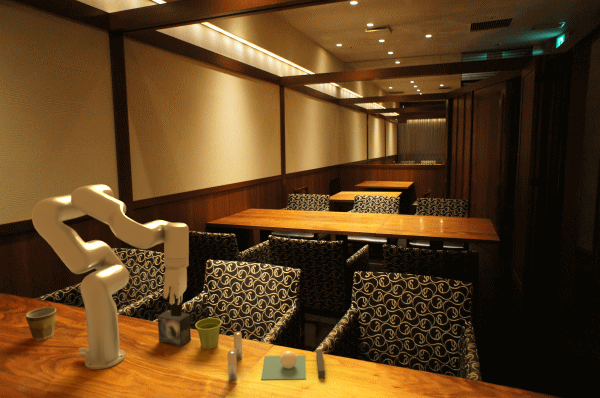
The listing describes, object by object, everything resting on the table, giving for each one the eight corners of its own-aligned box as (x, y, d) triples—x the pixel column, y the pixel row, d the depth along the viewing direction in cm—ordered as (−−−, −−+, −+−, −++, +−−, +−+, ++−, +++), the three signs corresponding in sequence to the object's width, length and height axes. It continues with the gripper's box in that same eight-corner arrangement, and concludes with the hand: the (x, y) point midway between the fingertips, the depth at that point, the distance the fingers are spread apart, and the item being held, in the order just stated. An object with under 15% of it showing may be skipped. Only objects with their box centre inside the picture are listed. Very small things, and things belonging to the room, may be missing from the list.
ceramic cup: (63, 334, 157) (61, 310, 155) (35, 345, 148) (33, 319, 147) (47, 327, 164) (44, 303, 162) (19, 336, 155) (17, 312, 154)
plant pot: (216, 353, 141) (215, 330, 140) (191, 350, 143) (190, 327, 142) (226, 340, 150) (225, 318, 149) (203, 338, 152) (202, 317, 151)
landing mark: (261, 379, 124) (261, 379, 124) (264, 356, 138) (264, 356, 138) (305, 379, 124) (305, 378, 124) (304, 356, 138) (304, 355, 138)
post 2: (234, 360, 136) (233, 335, 135) (235, 356, 139) (234, 331, 138) (241, 359, 136) (240, 335, 135) (242, 356, 139) (242, 331, 138)
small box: (157, 342, 149) (156, 316, 148) (169, 335, 155) (168, 309, 154) (180, 347, 145) (179, 320, 144) (191, 339, 151) (190, 313, 150)
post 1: (227, 381, 124) (226, 354, 123) (229, 376, 126) (228, 350, 125) (236, 381, 124) (235, 354, 123) (237, 376, 126) (236, 350, 125)
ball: (280, 373, 128) (278, 357, 128) (281, 363, 134) (279, 348, 133) (297, 371, 128) (295, 355, 128) (297, 361, 134) (295, 346, 133)
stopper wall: (318, 378, 125) (318, 370, 125) (316, 356, 138) (316, 349, 138) (324, 378, 125) (324, 370, 125) (322, 356, 138) (322, 349, 138)
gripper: (172, 254, 136) (172, 305, 138) (156, 267, 121) (157, 324, 123) (194, 255, 136) (194, 306, 138) (181, 268, 121) (181, 325, 123)
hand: (176, 315), depth 131 cm, fingers closed
